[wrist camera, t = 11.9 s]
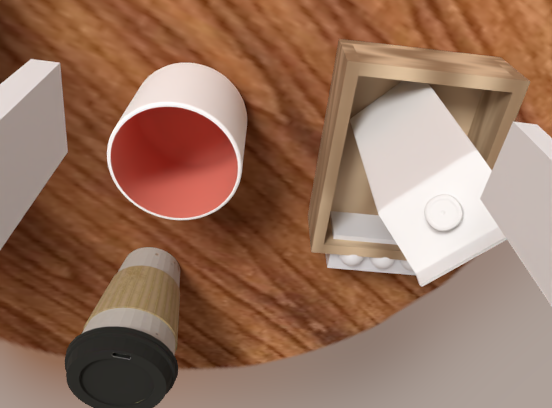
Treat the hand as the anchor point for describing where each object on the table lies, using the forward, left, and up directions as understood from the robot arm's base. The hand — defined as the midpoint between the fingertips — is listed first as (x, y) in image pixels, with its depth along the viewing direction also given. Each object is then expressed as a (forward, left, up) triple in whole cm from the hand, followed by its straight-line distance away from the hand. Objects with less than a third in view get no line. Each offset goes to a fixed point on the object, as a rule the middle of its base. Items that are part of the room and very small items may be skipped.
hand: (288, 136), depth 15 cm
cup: (-7, -13, -30) cm, 33 cm away
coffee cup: (-11, -32, -30) cm, 45 cm away
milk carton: (+12, -11, -29) cm, 33 cm away
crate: (+12, -14, -30) cm, 35 cm away
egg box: (+12, -23, -29) cm, 39 cm away
